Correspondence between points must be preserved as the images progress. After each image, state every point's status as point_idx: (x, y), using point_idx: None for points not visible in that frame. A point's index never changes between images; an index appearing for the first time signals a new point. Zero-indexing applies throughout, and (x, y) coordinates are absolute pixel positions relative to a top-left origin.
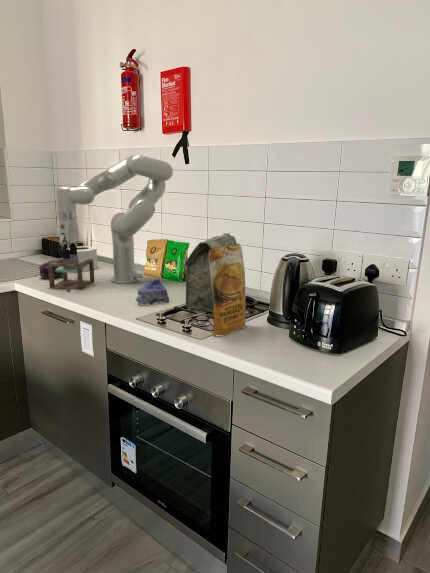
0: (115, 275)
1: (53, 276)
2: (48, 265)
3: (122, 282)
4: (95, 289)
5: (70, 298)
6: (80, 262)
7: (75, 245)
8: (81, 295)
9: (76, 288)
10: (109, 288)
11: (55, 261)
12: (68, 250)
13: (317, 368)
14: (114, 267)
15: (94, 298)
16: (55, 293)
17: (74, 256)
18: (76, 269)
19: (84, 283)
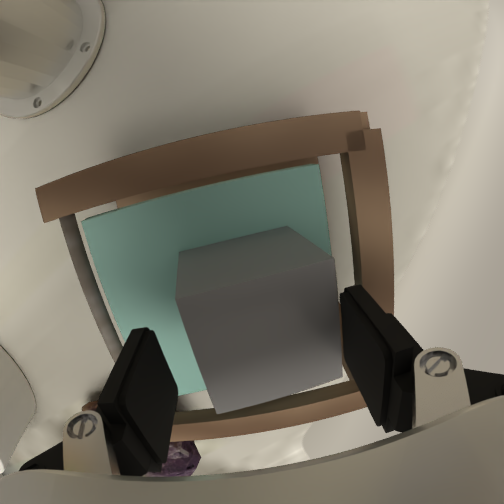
0: (60, 48)
1: None
2: (169, 460)
3: (101, 3)
4: (266, 61)
5: (449, 107)
6: (109, 287)
7: (106, 433)
8: (397, 77)
9: (317, 159)
10: (215, 7)
11: (298, 412)
12: (408, 348)
13: None
14: (26, 44)
15: (408, 7)
16: (407, 223)
17: (264, 286)
18: (289, 199)
19: (192, 185)
